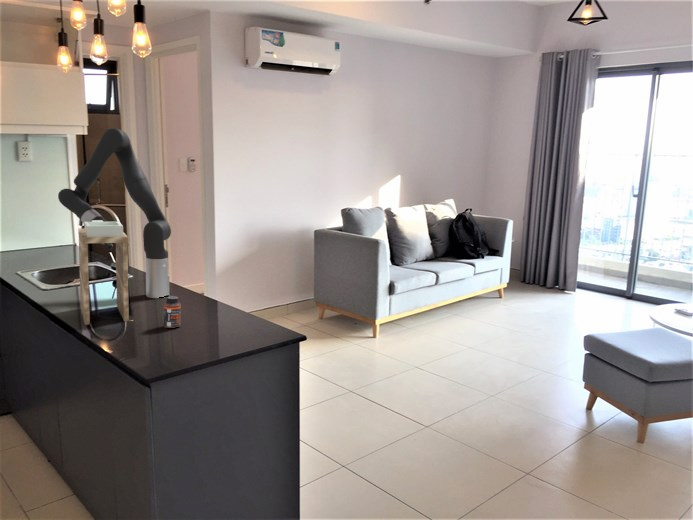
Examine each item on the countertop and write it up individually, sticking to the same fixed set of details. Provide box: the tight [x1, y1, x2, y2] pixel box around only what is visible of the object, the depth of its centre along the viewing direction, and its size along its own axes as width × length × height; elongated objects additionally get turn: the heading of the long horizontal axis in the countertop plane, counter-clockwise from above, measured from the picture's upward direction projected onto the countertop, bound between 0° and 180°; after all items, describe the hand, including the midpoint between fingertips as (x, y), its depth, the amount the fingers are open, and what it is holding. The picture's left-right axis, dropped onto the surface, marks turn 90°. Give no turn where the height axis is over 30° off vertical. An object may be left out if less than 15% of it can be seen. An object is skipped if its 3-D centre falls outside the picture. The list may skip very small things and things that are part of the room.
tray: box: [83, 220, 124, 237], centre depth 221 cm, size 12×32×4 cm, turn 28°
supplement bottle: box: [163, 295, 182, 329], centre depth 212 cm, size 6×6×11 cm
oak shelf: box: [77, 227, 130, 325], centre depth 220 cm, size 15×24×32 cm, turn 28°
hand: (119, 247), depth 239 cm, fingers open, 8 cm apart
